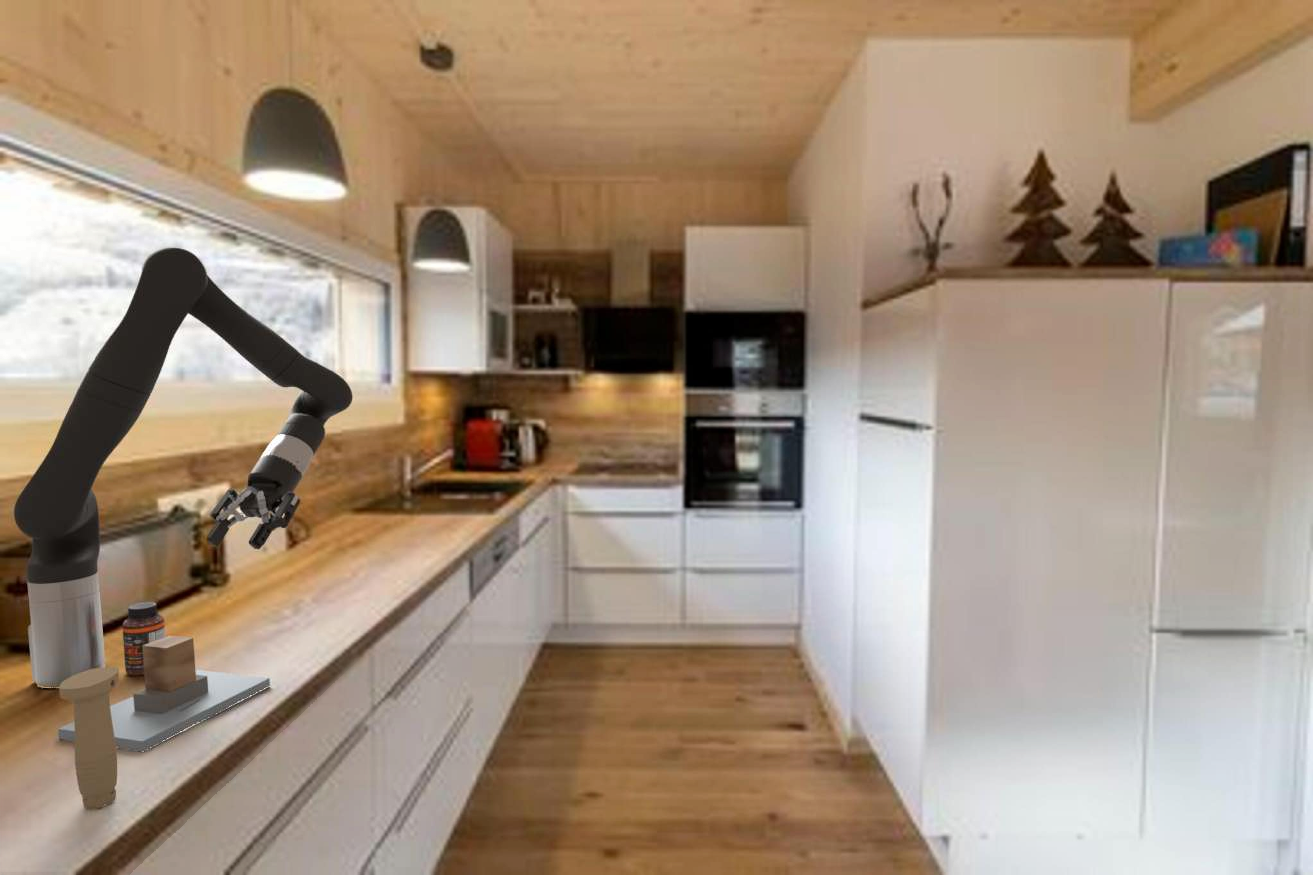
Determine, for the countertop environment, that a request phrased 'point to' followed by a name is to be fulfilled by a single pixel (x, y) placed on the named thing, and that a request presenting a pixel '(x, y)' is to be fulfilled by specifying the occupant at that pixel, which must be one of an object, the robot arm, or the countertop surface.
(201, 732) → the countertop surface
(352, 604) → the countertop surface
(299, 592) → the countertop surface
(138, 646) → the supplement bottle
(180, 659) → the block
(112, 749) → the handle
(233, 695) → the board
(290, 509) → the robot arm
